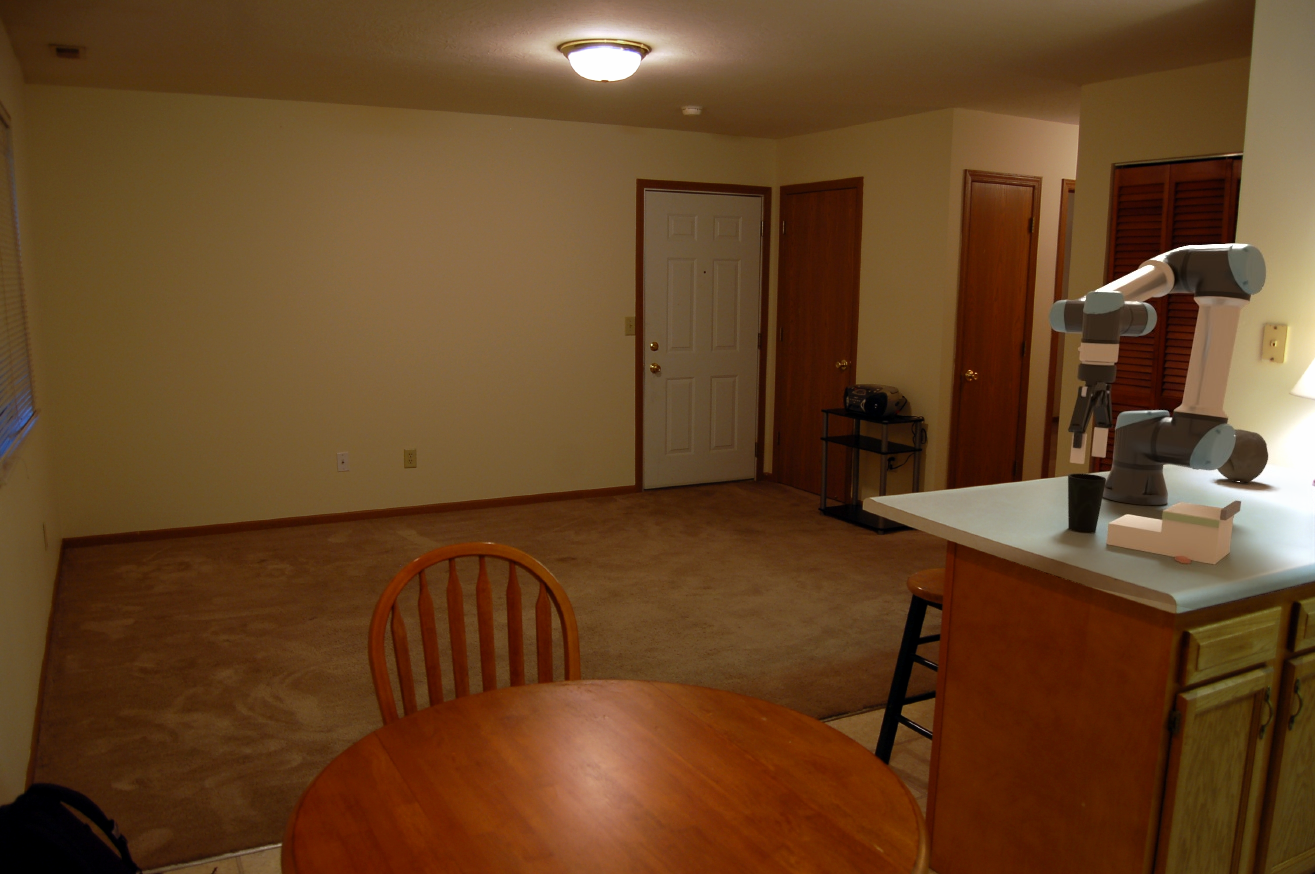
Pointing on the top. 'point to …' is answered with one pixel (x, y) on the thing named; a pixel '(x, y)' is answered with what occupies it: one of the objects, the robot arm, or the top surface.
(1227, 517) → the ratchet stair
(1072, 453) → the robot arm
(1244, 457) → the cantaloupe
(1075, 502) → the cup
